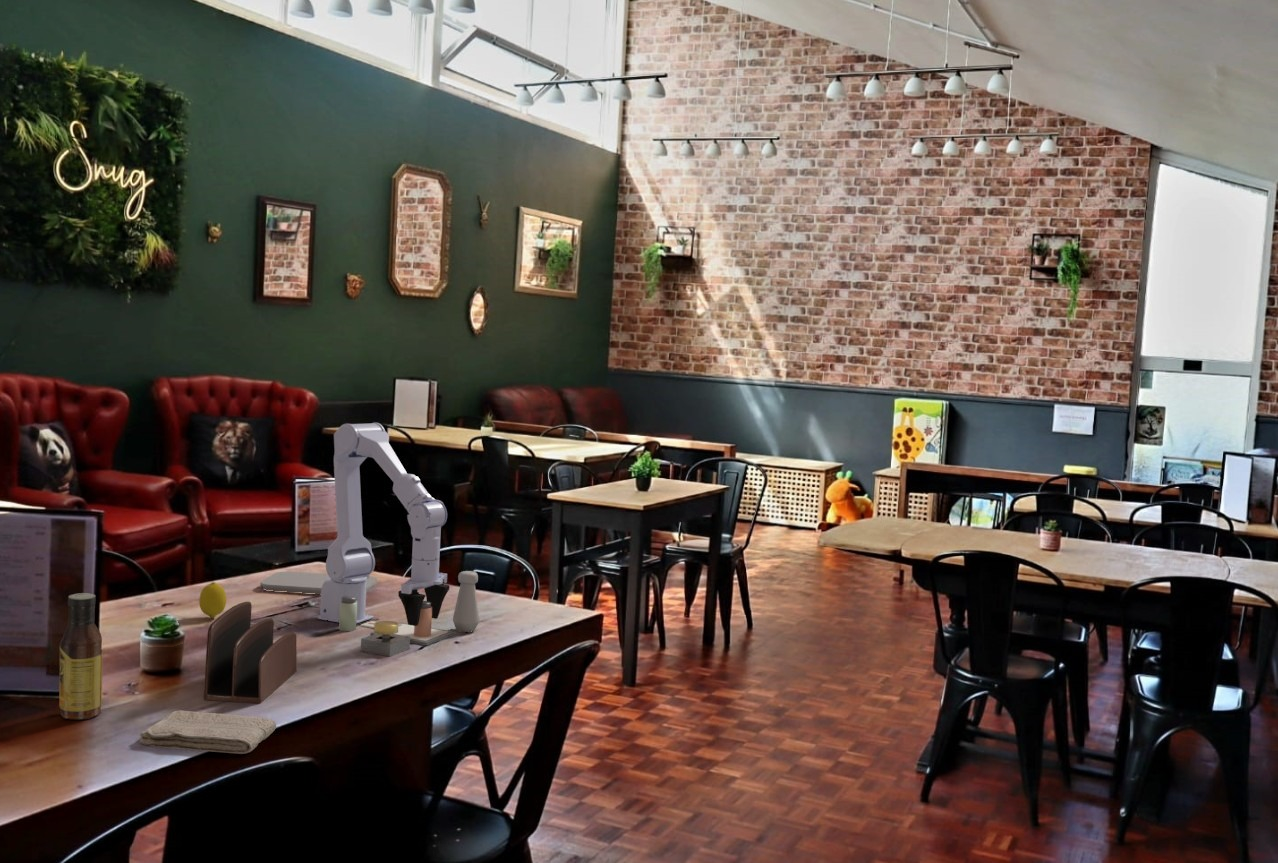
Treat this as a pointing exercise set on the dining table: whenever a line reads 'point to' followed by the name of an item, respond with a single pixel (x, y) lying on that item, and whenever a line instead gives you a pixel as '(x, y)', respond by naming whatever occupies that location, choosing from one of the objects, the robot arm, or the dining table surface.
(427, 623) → the pepper shaker
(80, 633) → the sauce bottle
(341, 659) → the dining table surface
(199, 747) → the washcloth
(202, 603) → the lemon
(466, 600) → the salt shaker
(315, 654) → the dining table surface
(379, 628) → the button
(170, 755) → the dining table surface
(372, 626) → the card
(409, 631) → the clipboard
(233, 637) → the letter holder
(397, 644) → the switch box
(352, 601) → the green spice jar
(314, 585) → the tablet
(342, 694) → the dining table surface
